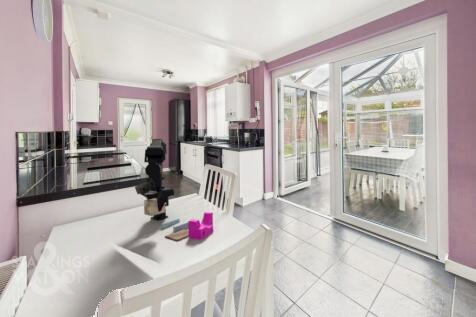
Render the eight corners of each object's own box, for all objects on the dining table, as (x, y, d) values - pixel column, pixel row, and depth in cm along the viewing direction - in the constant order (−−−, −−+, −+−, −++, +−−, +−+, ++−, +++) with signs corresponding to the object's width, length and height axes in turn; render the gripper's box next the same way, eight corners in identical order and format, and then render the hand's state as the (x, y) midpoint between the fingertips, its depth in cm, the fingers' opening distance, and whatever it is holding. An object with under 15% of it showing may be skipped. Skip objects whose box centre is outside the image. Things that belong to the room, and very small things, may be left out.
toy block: (201, 240, 87) (201, 222, 87) (188, 238, 90) (188, 220, 90) (217, 228, 101) (217, 212, 101) (206, 227, 104) (205, 211, 104)
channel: (161, 228, 101) (161, 223, 101) (177, 223, 110) (177, 218, 110) (175, 232, 96) (175, 227, 96) (191, 226, 104) (191, 221, 104)
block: (144, 214, 91) (144, 200, 91) (158, 210, 97) (158, 197, 97) (151, 216, 88) (151, 201, 88) (165, 212, 94) (165, 198, 94)
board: (165, 237, 91) (165, 235, 91) (182, 230, 99) (182, 228, 99) (177, 241, 86) (177, 239, 86) (195, 233, 94) (195, 232, 94)
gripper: (125, 175, 91) (126, 211, 91) (151, 178, 81) (152, 218, 81) (148, 173, 100) (149, 206, 101) (175, 175, 90) (175, 211, 90)
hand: (155, 210), depth 93 cm, fingers closed on block, 5 cm apart
